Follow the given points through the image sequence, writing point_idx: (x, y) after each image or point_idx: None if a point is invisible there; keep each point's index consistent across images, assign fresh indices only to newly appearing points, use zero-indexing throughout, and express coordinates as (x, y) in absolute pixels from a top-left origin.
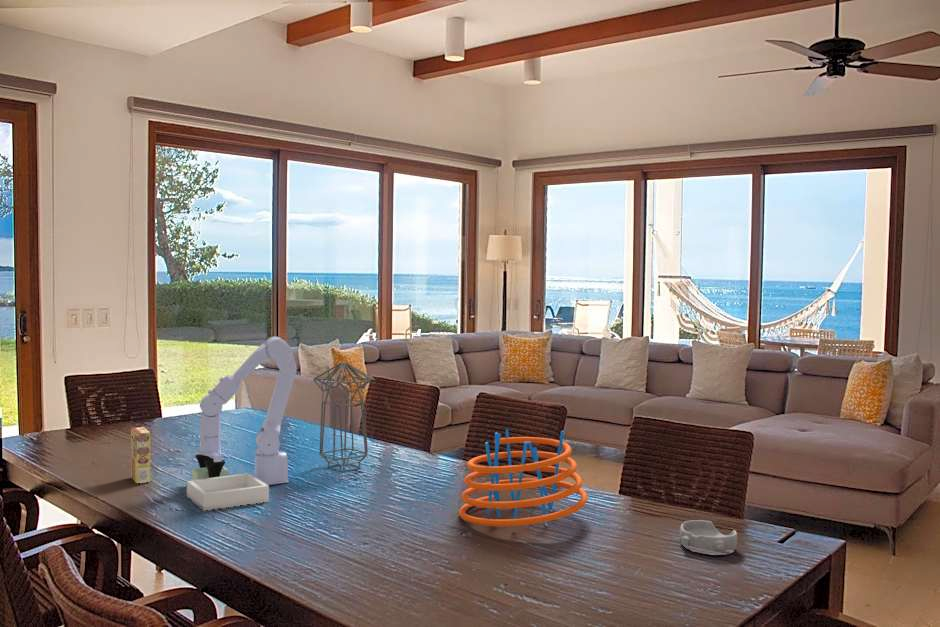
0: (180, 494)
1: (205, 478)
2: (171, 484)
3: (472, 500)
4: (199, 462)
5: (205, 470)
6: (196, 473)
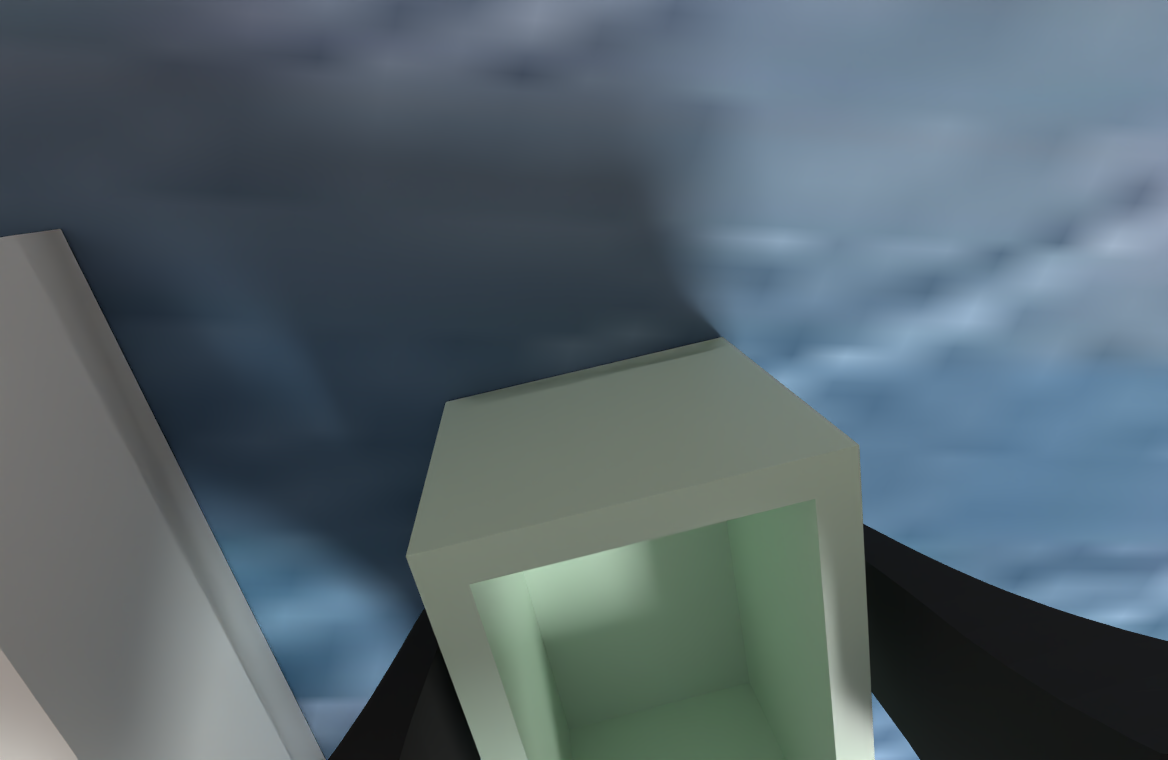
0: (217, 135)
1: (23, 680)
2: (909, 29)
3: None
4: (1012, 671)
5: (801, 648)
6: (484, 521)
